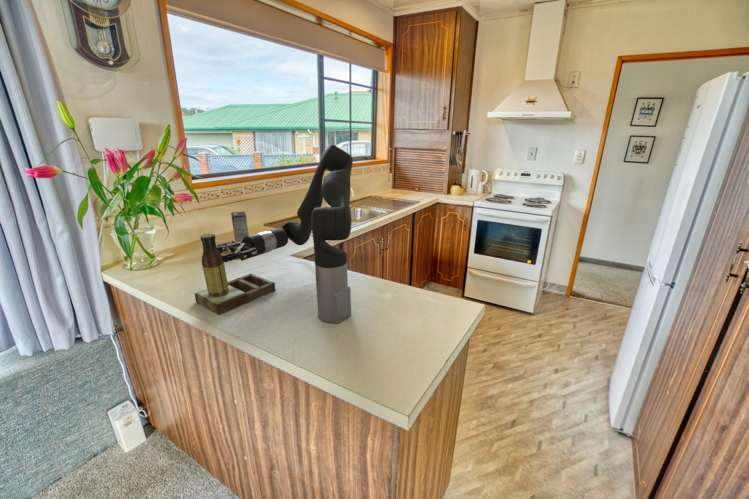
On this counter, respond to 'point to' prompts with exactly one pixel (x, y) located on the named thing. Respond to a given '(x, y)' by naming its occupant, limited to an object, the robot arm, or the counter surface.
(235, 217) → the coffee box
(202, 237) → the sauce bottle
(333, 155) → the robot arm
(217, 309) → the board
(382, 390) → the counter surface
